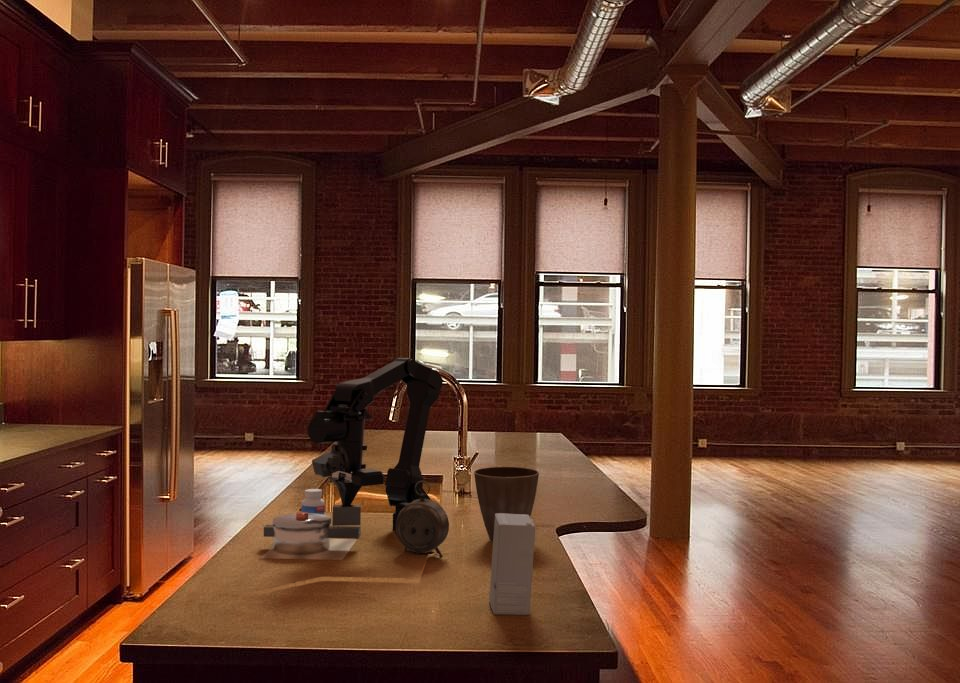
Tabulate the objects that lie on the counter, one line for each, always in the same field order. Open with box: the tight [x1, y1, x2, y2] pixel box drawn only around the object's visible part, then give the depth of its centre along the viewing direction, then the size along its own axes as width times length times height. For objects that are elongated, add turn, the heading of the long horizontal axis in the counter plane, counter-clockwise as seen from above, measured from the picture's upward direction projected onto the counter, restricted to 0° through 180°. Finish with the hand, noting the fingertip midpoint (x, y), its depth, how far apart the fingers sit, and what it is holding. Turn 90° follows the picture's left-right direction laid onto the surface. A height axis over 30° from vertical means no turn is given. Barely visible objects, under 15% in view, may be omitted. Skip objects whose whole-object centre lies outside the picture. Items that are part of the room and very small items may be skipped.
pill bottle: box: [300, 488, 325, 515], centre depth 212 cm, size 6×5×10 cm
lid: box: [272, 504, 362, 530], centre depth 192 cm, size 19×12×4 cm, turn 97°
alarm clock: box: [395, 480, 450, 558], centre depth 189 cm, size 11×5×16 cm, turn 73°
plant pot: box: [473, 466, 540, 543], centre depth 204 cm, size 15×15×16 cm
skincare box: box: [488, 513, 536, 616], centre depth 154 cm, size 8×7×16 cm
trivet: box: [260, 538, 358, 561], centre depth 192 cm, size 17×18×1 cm
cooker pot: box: [263, 524, 362, 555], centre depth 192 cm, size 20×12×5 cm, turn 88°
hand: (345, 510), depth 195 cm, fingers closed
